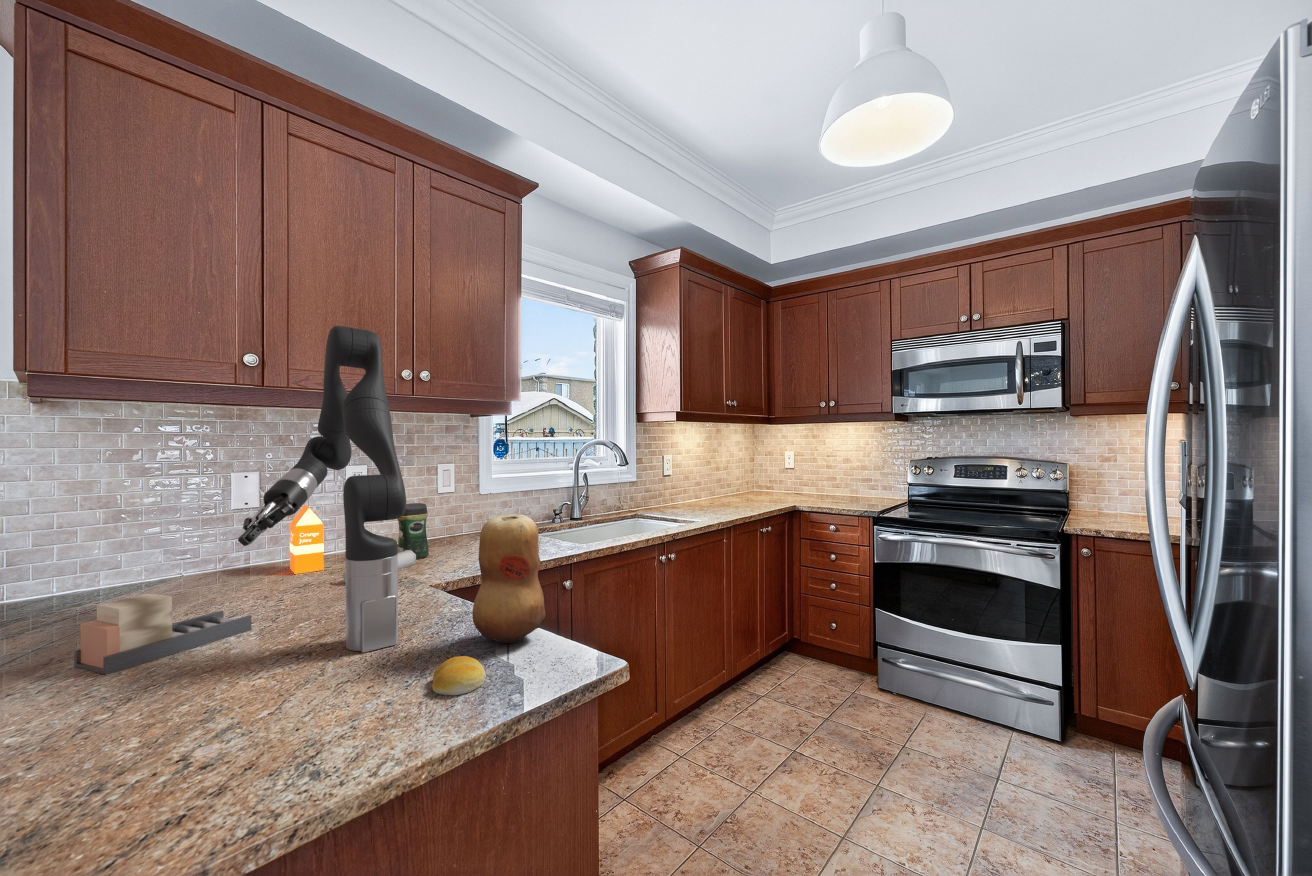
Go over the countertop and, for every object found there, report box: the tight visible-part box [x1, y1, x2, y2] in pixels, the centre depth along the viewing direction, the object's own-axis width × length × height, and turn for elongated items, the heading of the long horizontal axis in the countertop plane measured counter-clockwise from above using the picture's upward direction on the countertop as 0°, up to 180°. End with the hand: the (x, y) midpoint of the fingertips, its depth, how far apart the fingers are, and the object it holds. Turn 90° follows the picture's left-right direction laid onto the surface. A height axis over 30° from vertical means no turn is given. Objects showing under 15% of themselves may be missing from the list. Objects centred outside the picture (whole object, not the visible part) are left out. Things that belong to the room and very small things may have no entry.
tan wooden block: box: [96, 593, 173, 652], centre depth 103 cm, size 8×7×8 cm
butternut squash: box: [472, 513, 546, 644], centre depth 110 cm, size 14×13×25 cm
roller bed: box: [73, 610, 253, 675], centre depth 108 cm, size 24×10×3 cm, turn 159°
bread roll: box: [431, 655, 487, 696], centre depth 91 cm, size 8×9×4 cm
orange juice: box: [289, 504, 325, 575], centre depth 171 cm, size 8×9×20 cm
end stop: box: [80, 620, 120, 668], centre depth 98 cm, size 2×8×7 cm, turn 69°
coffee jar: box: [396, 502, 430, 560], centre depth 188 cm, size 10×8×19 cm
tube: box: [342, 550, 417, 584], centre depth 165 cm, size 5×5×25 cm
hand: (243, 542), depth 115 cm, fingers closed
